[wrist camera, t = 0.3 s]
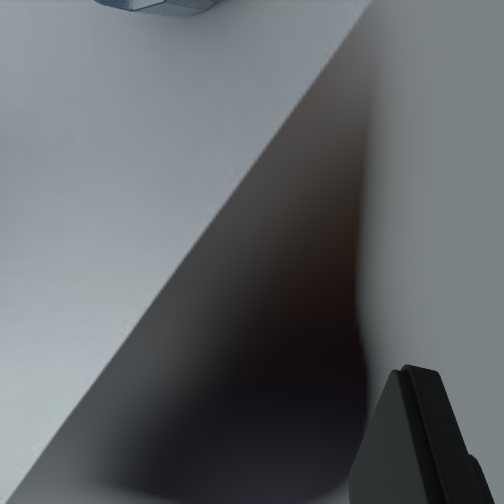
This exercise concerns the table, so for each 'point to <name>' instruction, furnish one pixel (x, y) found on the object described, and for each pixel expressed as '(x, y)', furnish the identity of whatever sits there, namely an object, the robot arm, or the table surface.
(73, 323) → the table surface
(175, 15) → the holder
